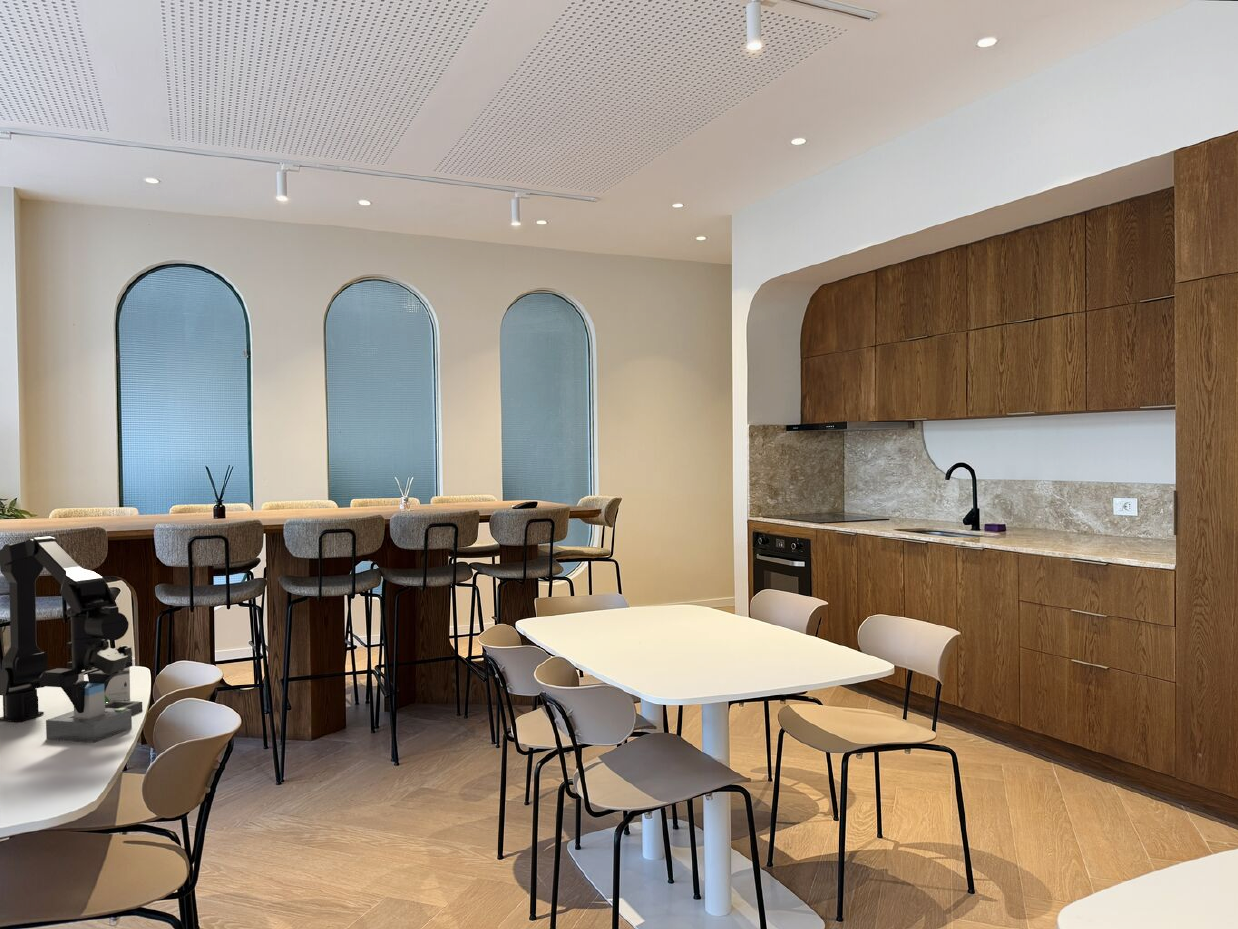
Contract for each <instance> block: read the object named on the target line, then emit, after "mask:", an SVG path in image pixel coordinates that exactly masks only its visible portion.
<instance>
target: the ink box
mask: <svg viewBox="0 0 1238 929" xmlns="http://www.w3.org/2000/svg"><path fill="white" fill-rule="evenodd" d="M130 668H131V667H128V668H125V669H124V670H123V671H119V673H118V674H117V675H115V676H114V677H113V678H112V679H111V680H110V681H109V683H108V686H107V688H106V691H105V703H106V702H111V701H114V700H118V701H124V700H125V701H131V676H130V673H131V670H130Z"/></svg>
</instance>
